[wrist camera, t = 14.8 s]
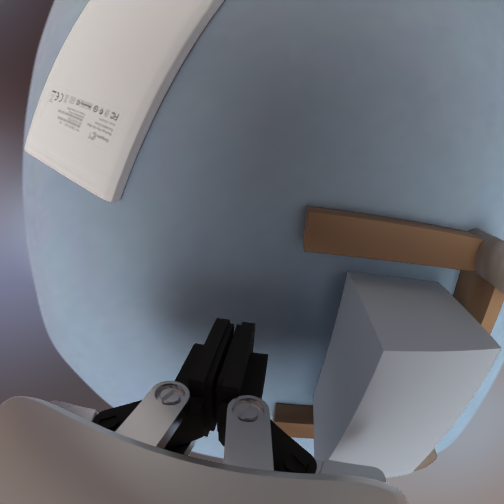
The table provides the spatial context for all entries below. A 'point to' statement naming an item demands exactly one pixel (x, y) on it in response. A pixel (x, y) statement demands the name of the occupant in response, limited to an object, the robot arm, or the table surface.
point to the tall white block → (396, 372)
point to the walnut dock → (406, 251)
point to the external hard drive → (112, 87)
